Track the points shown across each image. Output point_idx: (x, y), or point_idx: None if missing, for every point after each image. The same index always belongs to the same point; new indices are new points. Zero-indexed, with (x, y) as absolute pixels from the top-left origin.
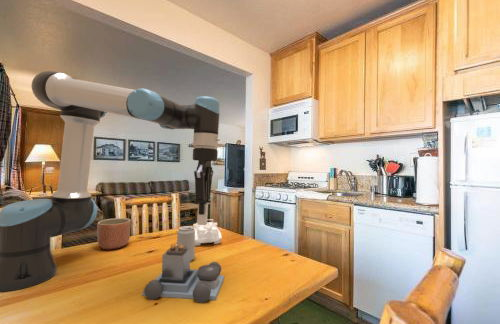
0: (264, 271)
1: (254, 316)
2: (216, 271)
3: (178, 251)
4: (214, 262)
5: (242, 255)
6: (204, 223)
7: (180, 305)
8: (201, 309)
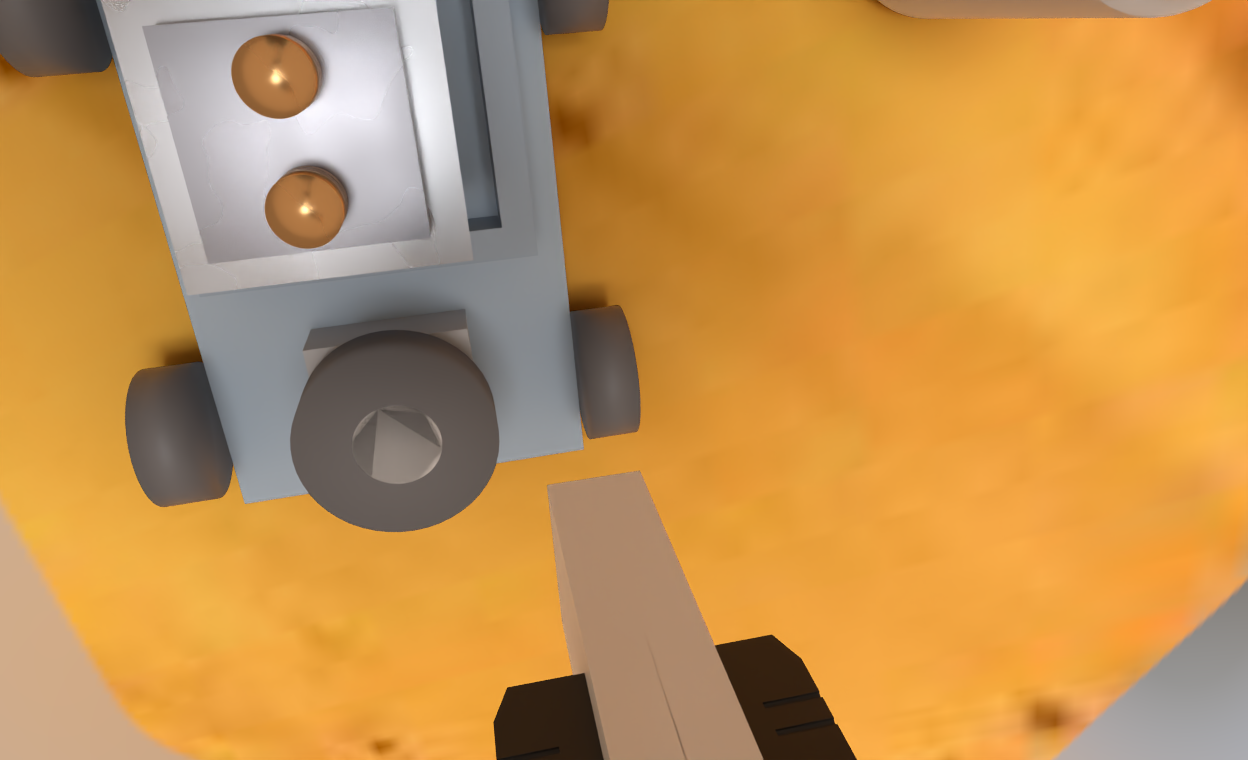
0: None
1: (169, 738)
2: (369, 525)
3: (199, 218)
4: (626, 398)
5: (1037, 436)
6: (562, 621)
7: (79, 280)
8: (100, 444)
